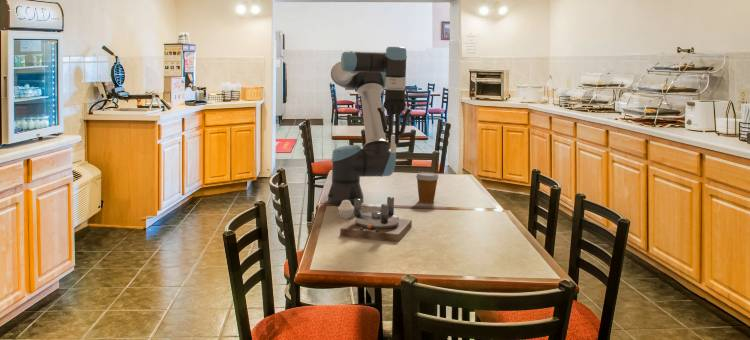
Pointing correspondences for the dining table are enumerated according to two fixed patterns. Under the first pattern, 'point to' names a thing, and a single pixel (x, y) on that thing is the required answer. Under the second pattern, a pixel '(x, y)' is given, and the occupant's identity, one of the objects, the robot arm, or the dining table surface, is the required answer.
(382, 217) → the capstan
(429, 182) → the disposable coffee cup
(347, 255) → the dining table surface
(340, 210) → the muffin
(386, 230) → the stand
